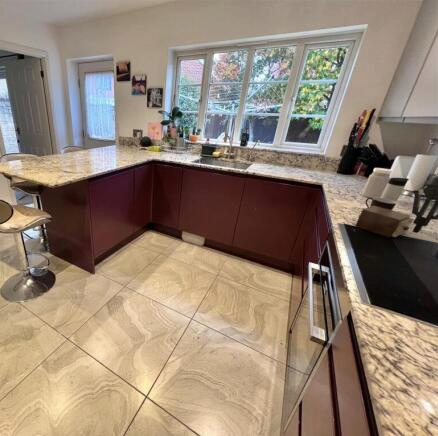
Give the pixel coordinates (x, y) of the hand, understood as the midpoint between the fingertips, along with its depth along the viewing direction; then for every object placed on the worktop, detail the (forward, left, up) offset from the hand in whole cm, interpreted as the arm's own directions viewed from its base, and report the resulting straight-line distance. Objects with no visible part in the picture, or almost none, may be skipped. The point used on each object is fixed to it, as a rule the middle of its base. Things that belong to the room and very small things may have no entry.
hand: (415, 231), depth 97 cm
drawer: (+8, +3, -2) cm, 9 cm away
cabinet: (+11, +3, -3) cm, 11 cm away
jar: (+35, -56, -3) cm, 66 cm away
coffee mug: (+18, -13, -3) cm, 22 cm away
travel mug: (+18, -22, -3) cm, 28 cm away
